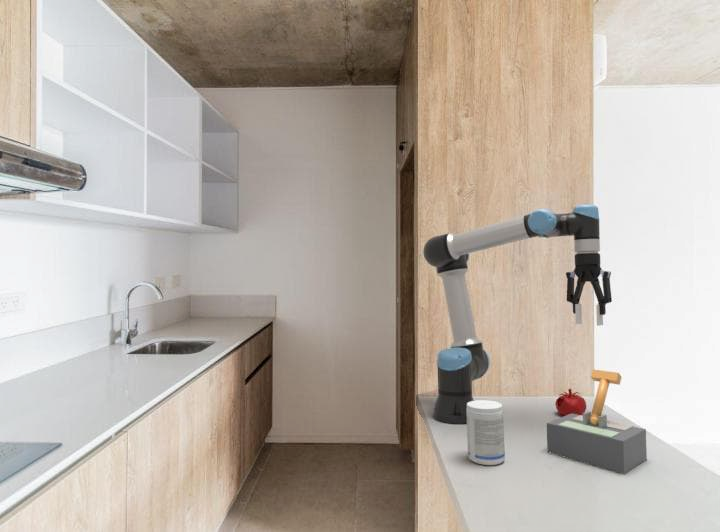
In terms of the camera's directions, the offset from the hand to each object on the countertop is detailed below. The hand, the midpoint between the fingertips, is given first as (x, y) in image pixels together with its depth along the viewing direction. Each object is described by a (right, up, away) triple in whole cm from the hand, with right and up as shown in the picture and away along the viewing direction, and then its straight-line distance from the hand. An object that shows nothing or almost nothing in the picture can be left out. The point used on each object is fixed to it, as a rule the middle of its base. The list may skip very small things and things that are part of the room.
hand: (589, 324), depth 154 cm
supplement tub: (-40, -33, -27) cm, 59 cm away
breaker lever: (-11, -24, -26) cm, 37 cm away
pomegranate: (0, -34, +13) cm, 36 cm away
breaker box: (-10, -32, -25) cm, 42 cm away
